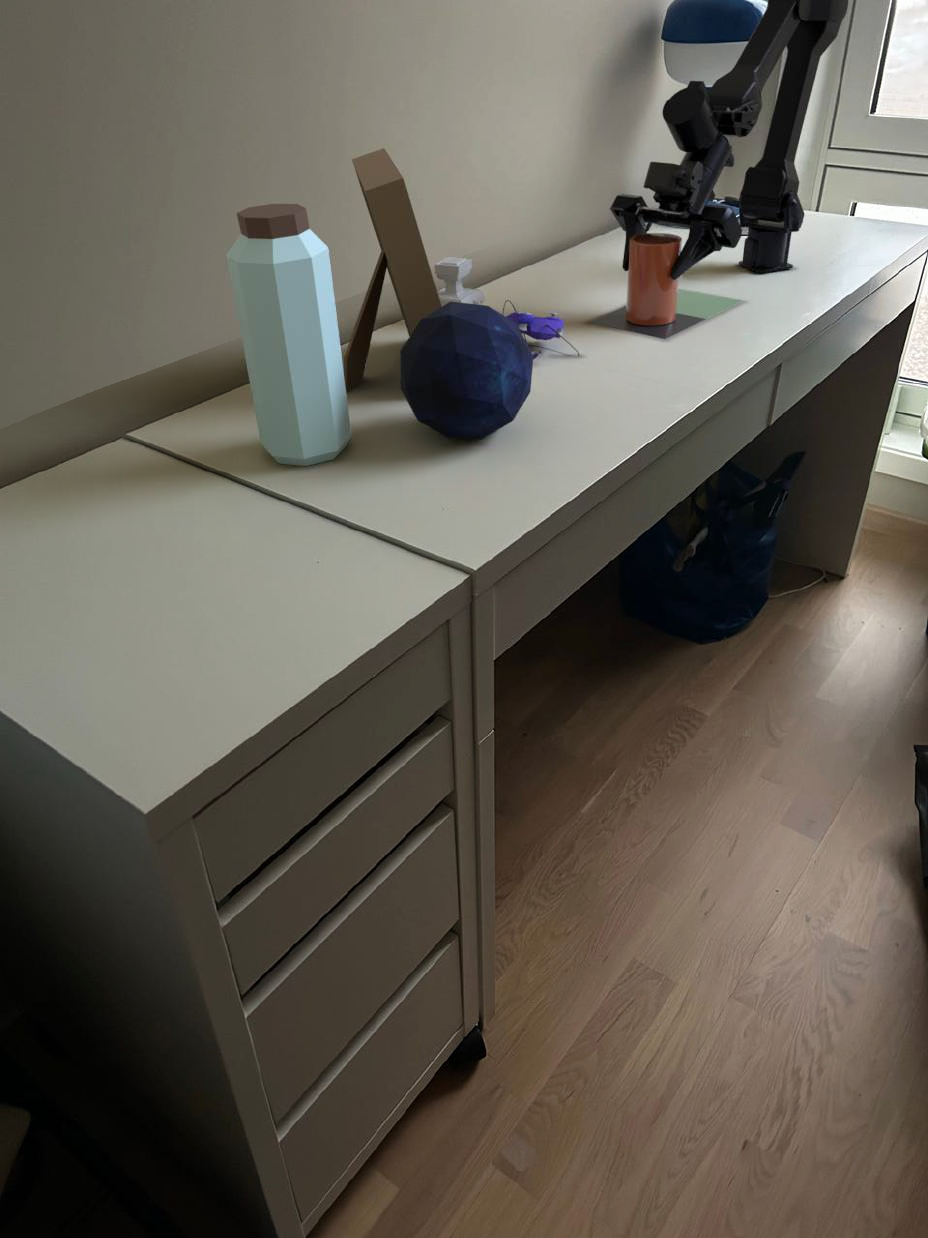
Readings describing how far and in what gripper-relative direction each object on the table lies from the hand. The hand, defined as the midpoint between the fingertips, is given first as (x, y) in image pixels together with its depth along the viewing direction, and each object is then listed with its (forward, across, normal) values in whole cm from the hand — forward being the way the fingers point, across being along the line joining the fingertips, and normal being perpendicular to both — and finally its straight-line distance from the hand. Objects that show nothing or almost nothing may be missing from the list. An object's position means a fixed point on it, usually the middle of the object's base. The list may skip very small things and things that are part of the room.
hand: (648, 273), depth 132 cm
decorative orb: (+36, +6, -26) cm, 45 cm away
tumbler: (+4, 0, +6) cm, 7 cm away
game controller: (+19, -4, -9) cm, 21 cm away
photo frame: (+30, -16, -20) cm, 39 cm away
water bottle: (+46, -5, -36) cm, 59 cm away
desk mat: (+1, 0, +9) cm, 9 cm away
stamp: (+15, -24, -5) cm, 29 cm away
